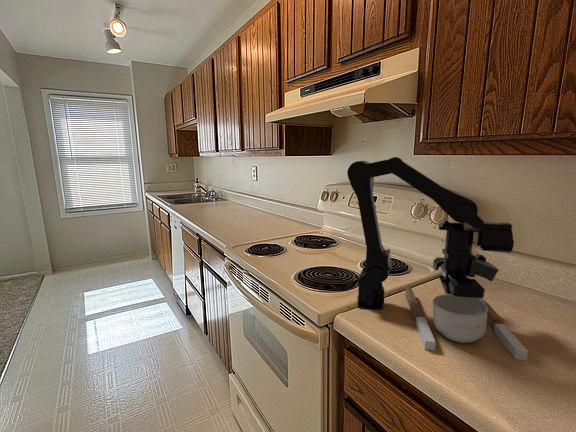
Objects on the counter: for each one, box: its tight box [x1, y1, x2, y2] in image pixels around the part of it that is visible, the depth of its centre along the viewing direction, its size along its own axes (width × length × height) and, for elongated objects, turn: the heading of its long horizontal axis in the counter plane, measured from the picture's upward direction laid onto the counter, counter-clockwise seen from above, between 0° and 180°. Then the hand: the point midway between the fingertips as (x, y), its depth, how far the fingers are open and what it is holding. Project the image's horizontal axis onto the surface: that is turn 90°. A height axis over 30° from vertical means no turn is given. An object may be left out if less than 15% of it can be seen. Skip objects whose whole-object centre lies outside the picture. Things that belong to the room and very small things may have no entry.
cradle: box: [404, 286, 503, 329], centre depth 80 cm, size 19×15×2 cm
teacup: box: [432, 293, 488, 344], centre depth 69 cm, size 14×11×8 cm
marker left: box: [415, 316, 437, 351], centre depth 69 cm, size 2×10×2 cm, turn 168°
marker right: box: [493, 323, 529, 361], centre depth 66 cm, size 2×10×2 cm, turn 168°
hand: (452, 307), depth 77 cm, fingers closed
